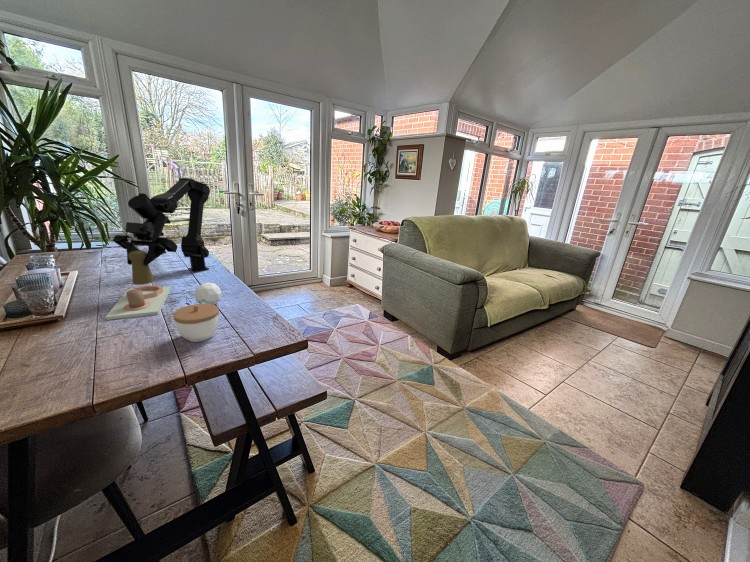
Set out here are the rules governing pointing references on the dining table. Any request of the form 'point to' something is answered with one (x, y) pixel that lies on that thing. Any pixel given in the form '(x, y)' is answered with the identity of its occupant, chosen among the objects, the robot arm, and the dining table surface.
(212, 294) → the faceted white bauble
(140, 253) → the cork
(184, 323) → the lidded jar
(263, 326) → the dining table surface
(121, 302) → the pin board
